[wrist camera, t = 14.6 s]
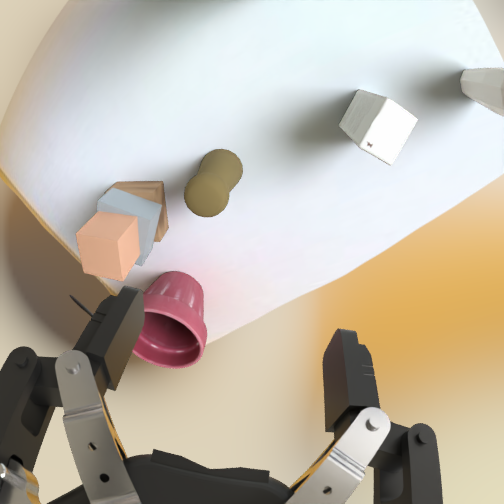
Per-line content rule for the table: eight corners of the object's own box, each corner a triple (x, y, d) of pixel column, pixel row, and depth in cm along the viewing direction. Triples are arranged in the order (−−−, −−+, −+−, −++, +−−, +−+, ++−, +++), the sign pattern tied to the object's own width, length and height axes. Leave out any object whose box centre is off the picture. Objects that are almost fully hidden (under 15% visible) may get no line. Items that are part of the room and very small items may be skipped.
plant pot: (184, 245, 51) (159, 297, 40) (233, 302, 57) (221, 358, 46) (129, 277, 56) (101, 325, 46) (176, 325, 62) (159, 375, 51)
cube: (98, 210, 38) (75, 233, 34) (137, 216, 38) (117, 240, 33) (103, 247, 42) (83, 272, 37) (140, 254, 42) (123, 281, 37)
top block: (112, 187, 41) (97, 200, 38) (162, 204, 42) (150, 220, 39) (107, 231, 46) (93, 247, 42) (152, 249, 47) (141, 266, 43)
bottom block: (117, 181, 46) (104, 192, 42) (163, 180, 45) (152, 192, 41) (125, 225, 50) (114, 239, 46) (169, 227, 50) (159, 241, 46)
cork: (194, 179, 44) (170, 213, 35) (209, 142, 41) (186, 167, 32) (233, 195, 45) (219, 233, 36) (249, 159, 42) (238, 188, 33)
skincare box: (364, 140, 39) (390, 168, 29) (337, 125, 38) (356, 147, 28) (385, 103, 35) (420, 119, 25) (358, 87, 35) (385, 96, 25)
